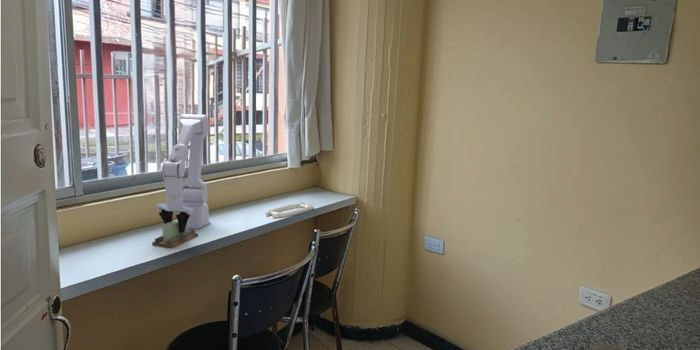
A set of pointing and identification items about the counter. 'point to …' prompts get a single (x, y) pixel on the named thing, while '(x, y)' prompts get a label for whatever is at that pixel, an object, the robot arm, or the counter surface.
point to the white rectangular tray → (278, 214)
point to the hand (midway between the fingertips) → (175, 231)
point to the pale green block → (172, 230)
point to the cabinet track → (175, 239)
